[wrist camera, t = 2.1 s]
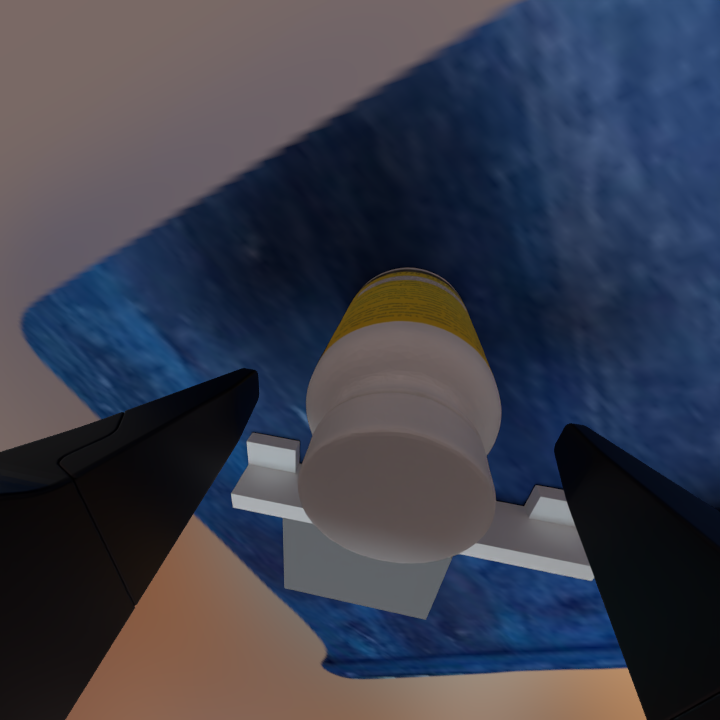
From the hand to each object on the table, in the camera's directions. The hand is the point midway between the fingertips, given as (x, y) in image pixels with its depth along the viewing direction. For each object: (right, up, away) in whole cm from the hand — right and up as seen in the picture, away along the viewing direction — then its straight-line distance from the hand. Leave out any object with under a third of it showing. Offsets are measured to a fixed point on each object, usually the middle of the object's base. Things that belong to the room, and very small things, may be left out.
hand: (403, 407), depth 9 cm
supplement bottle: (+1, +3, +6) cm, 7 cm away
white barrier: (+2, -7, +11) cm, 13 cm away
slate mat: (-1, -14, +15) cm, 21 cm away
